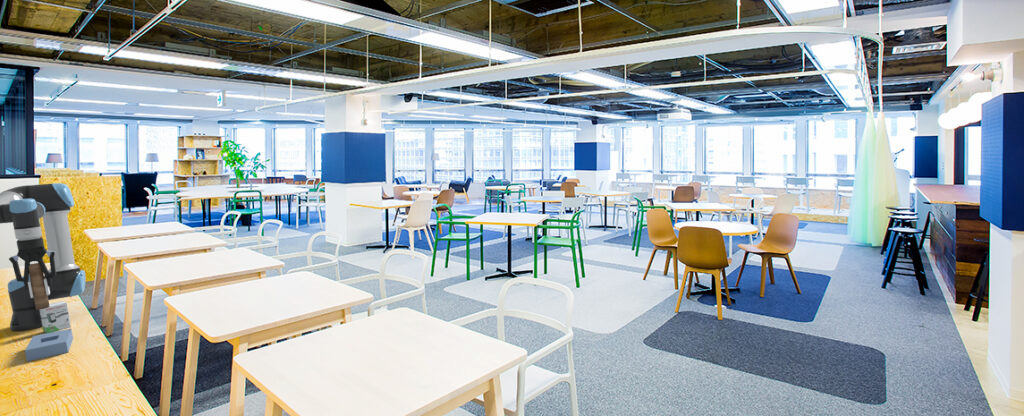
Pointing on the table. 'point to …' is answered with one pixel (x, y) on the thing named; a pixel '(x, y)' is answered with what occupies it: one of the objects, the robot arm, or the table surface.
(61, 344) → the socket block
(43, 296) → the peg
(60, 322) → the ink box
